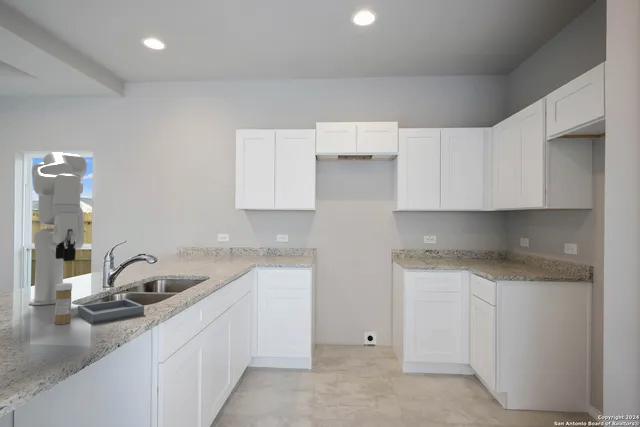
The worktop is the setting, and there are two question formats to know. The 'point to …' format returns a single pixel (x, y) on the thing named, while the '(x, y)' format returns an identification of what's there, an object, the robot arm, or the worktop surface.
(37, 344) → the worktop surface
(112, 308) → the tray
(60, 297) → the sprinkles bottle
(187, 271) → the worktop surface
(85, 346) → the worktop surface
